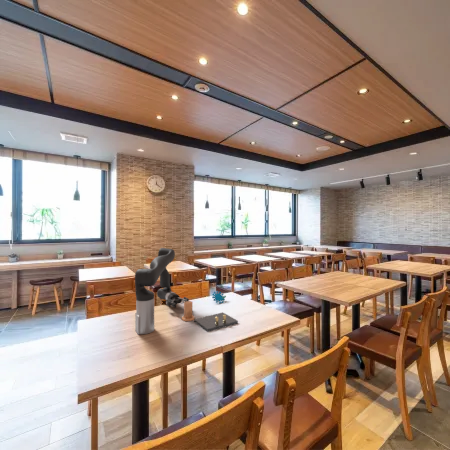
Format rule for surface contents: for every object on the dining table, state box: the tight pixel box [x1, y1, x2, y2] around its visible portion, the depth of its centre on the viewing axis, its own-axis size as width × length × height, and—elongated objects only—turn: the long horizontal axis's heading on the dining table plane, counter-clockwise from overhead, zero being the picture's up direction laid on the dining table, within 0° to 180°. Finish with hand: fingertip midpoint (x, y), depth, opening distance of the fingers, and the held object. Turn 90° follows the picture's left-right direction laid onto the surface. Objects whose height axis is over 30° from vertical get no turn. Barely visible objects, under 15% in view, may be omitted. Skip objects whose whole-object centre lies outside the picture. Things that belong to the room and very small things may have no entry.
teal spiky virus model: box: [211, 290, 227, 305], centre depth 179 cm, size 11×6×10 cm
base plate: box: [193, 312, 239, 333], centre depth 141 cm, size 20×16×6 cm
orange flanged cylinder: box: [181, 300, 196, 322], centre depth 146 cm, size 8×8×10 cm
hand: (181, 304), depth 154 cm, fingers open, 8 cm apart
